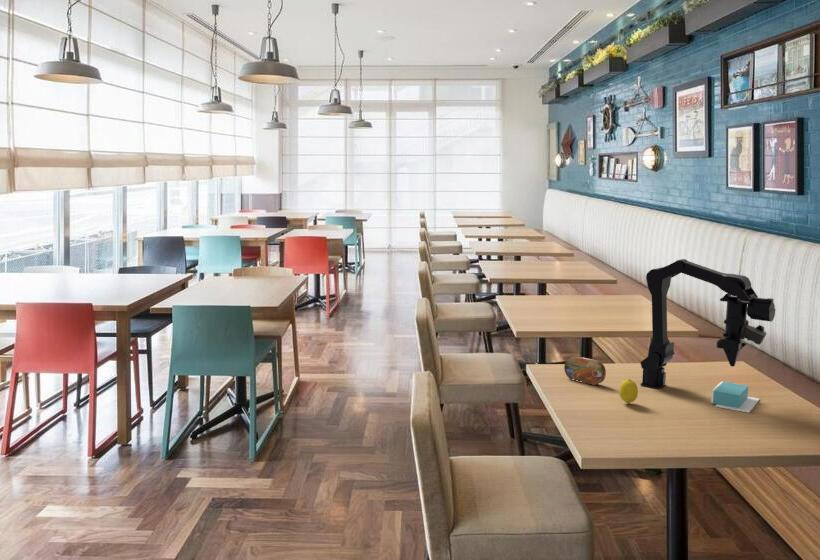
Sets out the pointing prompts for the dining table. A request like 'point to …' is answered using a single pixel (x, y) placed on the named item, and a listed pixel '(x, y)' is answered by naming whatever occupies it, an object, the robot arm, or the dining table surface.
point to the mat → (743, 405)
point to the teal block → (729, 394)
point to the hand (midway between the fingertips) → (732, 366)
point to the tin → (585, 370)
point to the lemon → (628, 391)
